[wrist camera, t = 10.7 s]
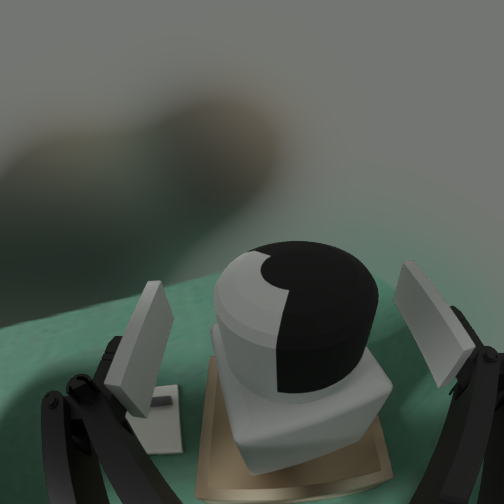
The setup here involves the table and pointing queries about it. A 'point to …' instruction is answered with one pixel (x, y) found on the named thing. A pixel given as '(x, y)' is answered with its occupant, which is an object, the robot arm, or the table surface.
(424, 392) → the table surface
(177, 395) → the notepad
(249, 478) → the beech tray
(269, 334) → the medicine bottle
